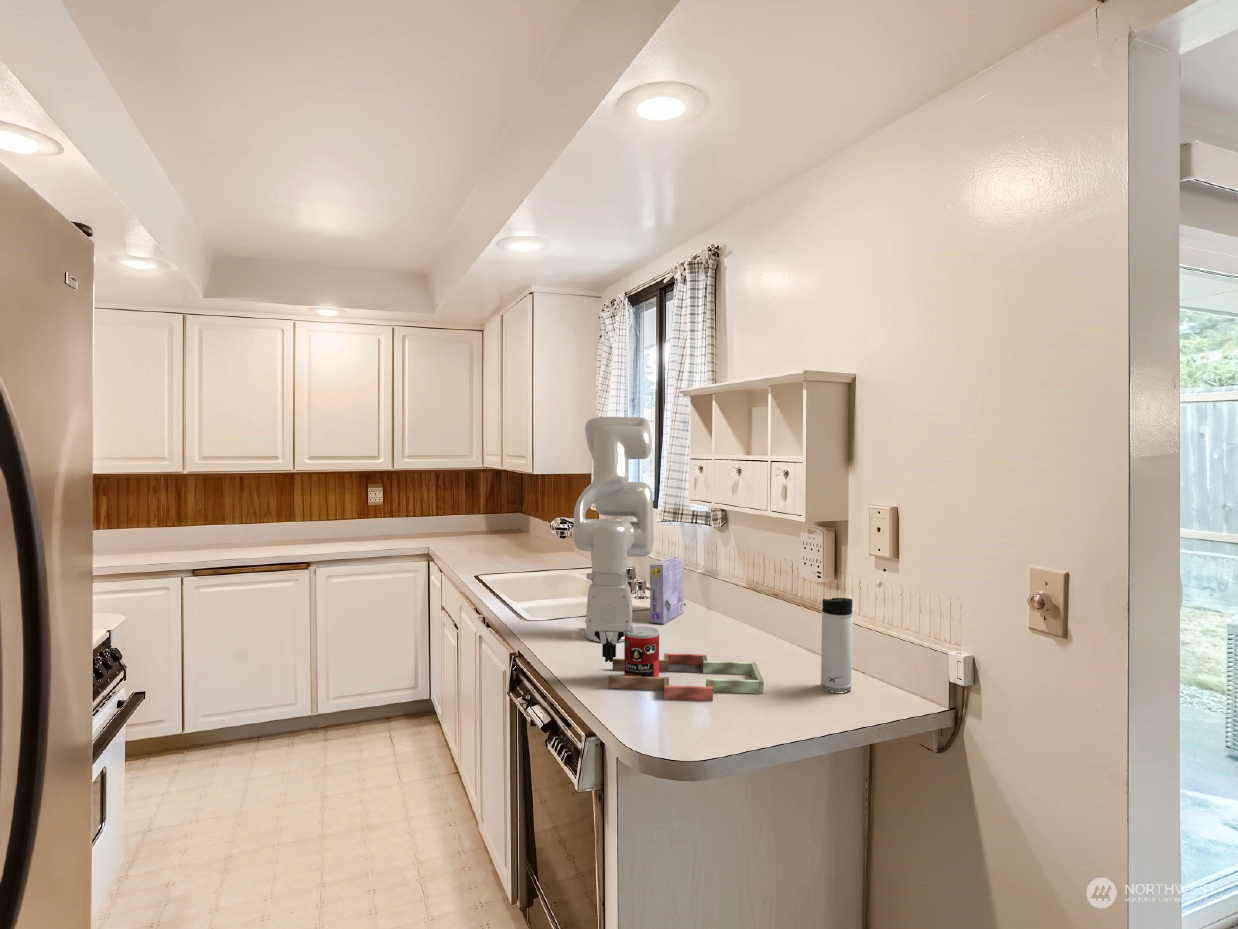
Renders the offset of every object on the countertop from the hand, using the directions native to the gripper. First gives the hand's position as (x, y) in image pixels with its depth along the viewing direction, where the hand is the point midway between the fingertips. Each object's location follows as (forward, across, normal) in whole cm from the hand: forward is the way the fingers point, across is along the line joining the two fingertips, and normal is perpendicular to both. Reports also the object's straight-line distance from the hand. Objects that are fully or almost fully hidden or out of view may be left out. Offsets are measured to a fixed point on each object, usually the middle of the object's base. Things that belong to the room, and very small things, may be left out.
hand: (609, 660), depth 152 cm
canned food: (+4, +7, 0) cm, 8 cm away
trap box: (+4, +16, 0) cm, 17 cm away
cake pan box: (+4, +13, +57) cm, 58 cm away
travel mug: (+4, +50, -2) cm, 50 cm away
